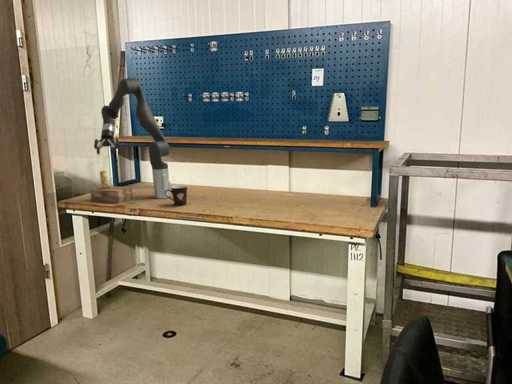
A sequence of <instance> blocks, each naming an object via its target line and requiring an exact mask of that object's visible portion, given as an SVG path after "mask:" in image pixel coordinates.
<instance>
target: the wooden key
mask: <svg viewBox="0 0 512 384" xmlns="http://www.w3.org/2000/svg"><path fill="white" fill-rule="evenodd" d="M99 176H100V177H99V178H100V184H101V185H100V187H102V189H108V186H109V185H108V184H109V183H108V174H107V170H100V171H99Z"/></svg>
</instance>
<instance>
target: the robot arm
mask: <svg viewBox="0 0 512 384" xmlns="http://www.w3.org/2000/svg"><path fill="white" fill-rule="evenodd" d="M126 95H134V96H135V98H136V102H137V103H136V109H135V117H136V118H137V121H138V123H139V126H141V128H142V129H144V131H145V132H147V133H148V134H149V135H150V136H151V138H152V139H153V141H151V142H150V143H149V145H148V155H149V156H148V157H149V163H150V165H151V172H152V174H151V175H152V181H153V182H152V183H153V195H154V199H167V198H168V197H170V198H171V197H172V193H171V192H170V191H167V192H166V193H165V191H166V190H172V189H171V187H172V186H171V180H170V174H169V165H168V163H167V162H165V161H164V160H163V161H164V162H163V161H162V159H161V157H163V158H164V157H167V156H168V155H169V154H170V150H171V149H170V145H169V143H168V141H167V140H166V137H165V136H164V134H163V133H162V131H161V129H160V126H159V125H158V123H157V120H156V118H155V117H154V114H153V112H152V110H151V108H150V106H149V104H148V101H147V98H146V97H145V94H144V90H143V88H142V85H141V82H140V81H139V80H138V78H137V77H127V78H122V79H121V80H120V81H119V83H118V85H117V88H116V91H115V94H114V95H113V98H112V99H111V100H110V102H109V104H108V105H104V106H102V108H101V110H100V111H101V117H102V127H101V133H100V134H101V135H100V139H97V138H95V140H94V144H93V147H94V149H95V150H96V153H97V155H100V154H101V153H100V152H101V149H103V147H104V148H105V147H111V148H112V149H111V153H112V155H114V154H116V150H119V147H120V141H119V138H116V139H115V132H116V131H115V125H116V123H115V122H116V119H117V118H118V117H119V113H120V110H121V108H123V105H124V103H125V98H124V96H126ZM114 144H115V145H114ZM165 194H166V195H167V196H168V197H166V196H165ZM168 199H169V198H168Z"/></svg>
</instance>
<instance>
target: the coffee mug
mask: <svg viewBox="0 0 512 384" xmlns="http://www.w3.org/2000/svg"><path fill="white" fill-rule="evenodd" d="M167 191H170V192H171V195H172V198H171V197H168V196H167V195H166V194H165V196H166V197H168V199H169V200H172V201H173V203H174V204H173V205H174V206H176V207H183V206H186V205H187V201H188V200H187V198H188V197H187V196H188V185H184V184H182V185H181V184H177V185H173V186H171V190H166V191H165V193H166V192H167Z"/></svg>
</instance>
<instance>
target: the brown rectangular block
mask: <svg viewBox="0 0 512 384" xmlns="http://www.w3.org/2000/svg"><path fill="white" fill-rule="evenodd" d="M89 192H90V198H91V201H90V202H92V201H95V202H96V203H108V204H121V203H124V202H127V201H130V200H132V199H133V189H132V187H131V186H116V185H115V186H114V185H113V186H112V185H110V186H109V185H108V189H102V187H101V186H99V187H96V188H92V189H90V190H89ZM95 202H94V203H95Z"/></svg>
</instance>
